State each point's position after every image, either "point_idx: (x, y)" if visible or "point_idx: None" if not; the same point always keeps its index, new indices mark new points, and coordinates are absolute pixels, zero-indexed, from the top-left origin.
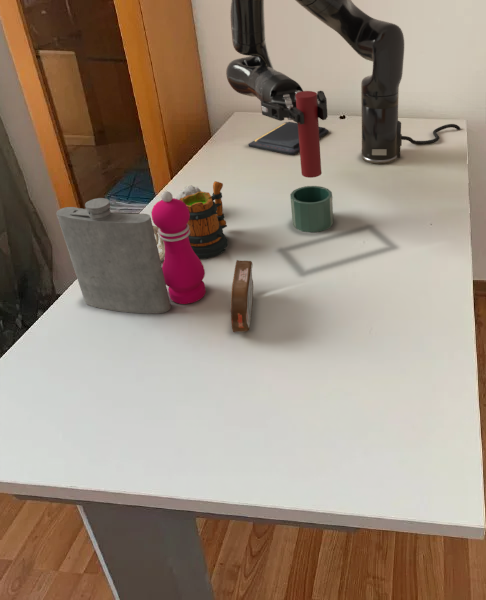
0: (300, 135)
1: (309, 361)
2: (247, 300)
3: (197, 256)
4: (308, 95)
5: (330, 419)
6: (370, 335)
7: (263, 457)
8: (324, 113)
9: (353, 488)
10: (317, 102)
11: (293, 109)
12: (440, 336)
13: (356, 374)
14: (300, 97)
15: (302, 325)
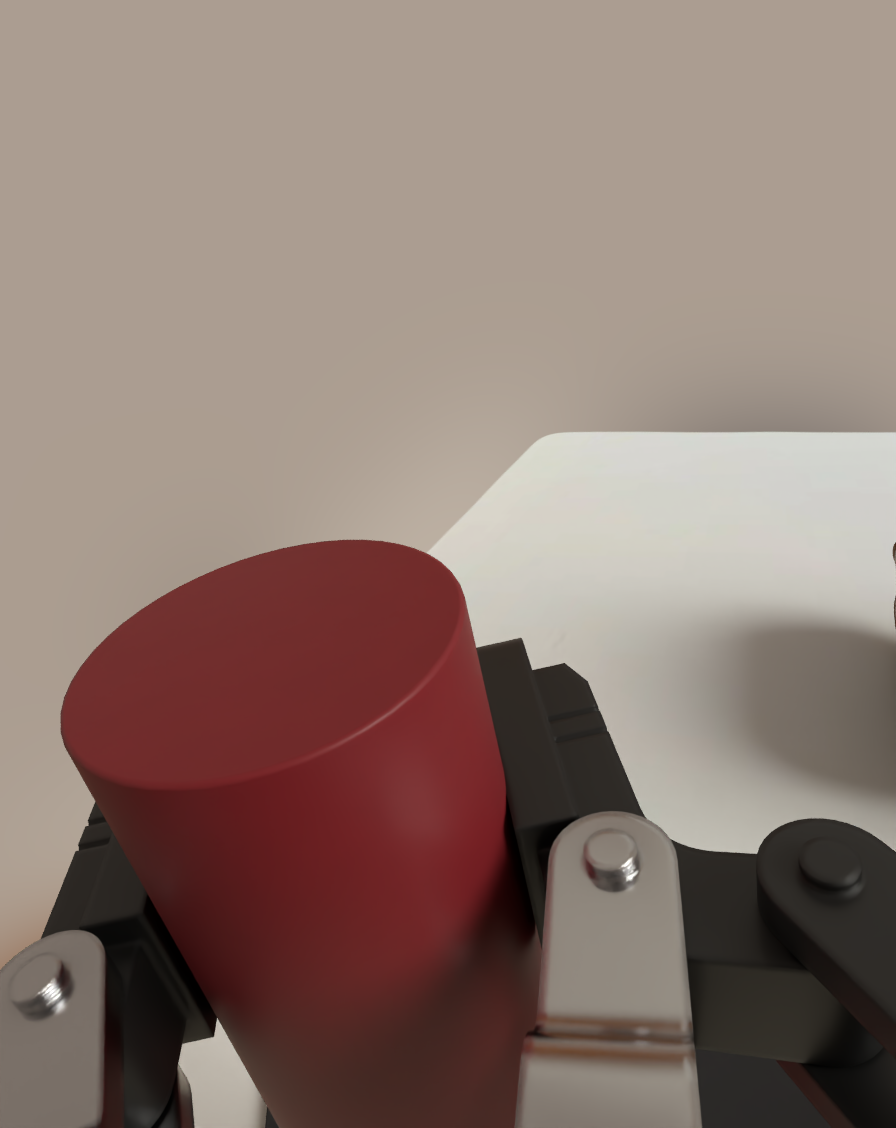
0: None
1: (722, 583)
2: (893, 547)
3: None
4: (272, 586)
5: (693, 501)
6: (565, 629)
7: (808, 464)
8: None
9: (675, 445)
10: (67, 932)
11: (569, 790)
12: None
13: (627, 558)
14: (423, 553)
15: (735, 668)
